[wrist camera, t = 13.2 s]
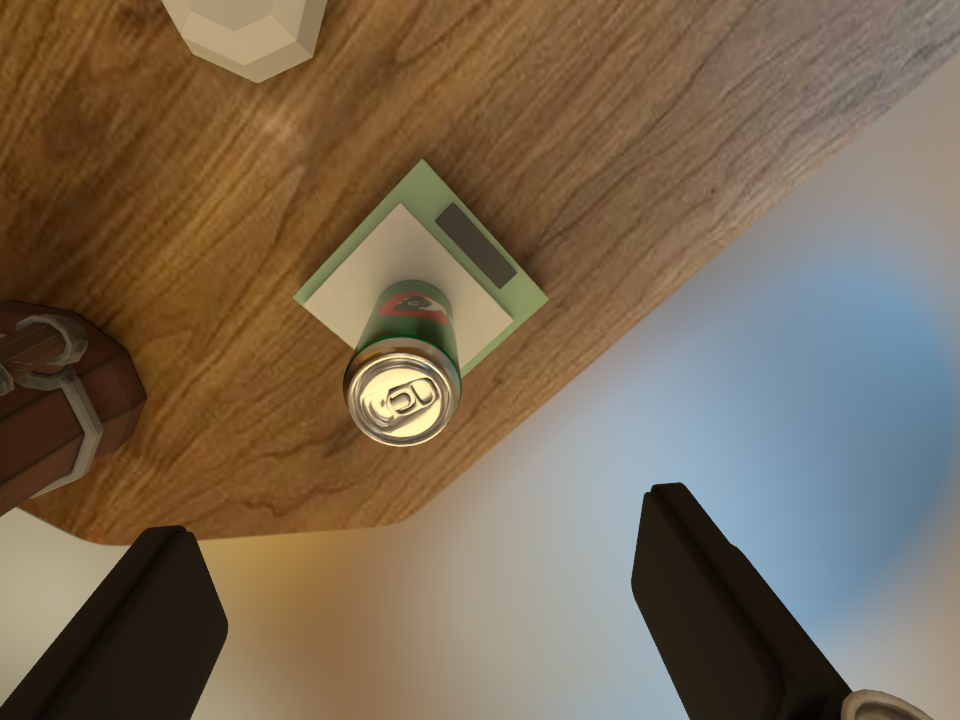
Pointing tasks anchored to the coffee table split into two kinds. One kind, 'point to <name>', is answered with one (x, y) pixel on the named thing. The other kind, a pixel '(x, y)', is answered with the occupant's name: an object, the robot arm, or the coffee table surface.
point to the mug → (58, 399)
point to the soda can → (405, 366)
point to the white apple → (249, 32)
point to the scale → (425, 268)
